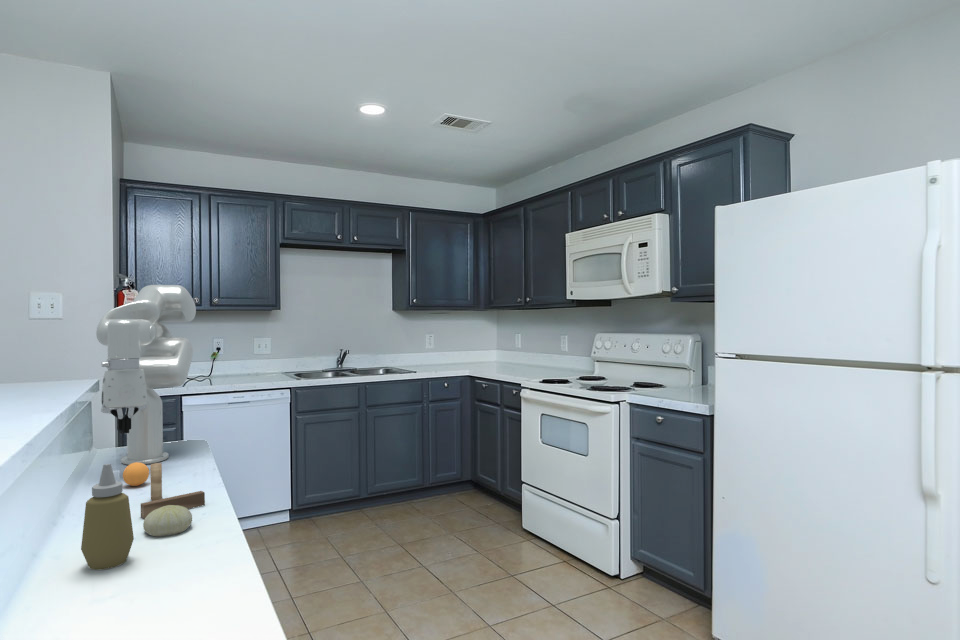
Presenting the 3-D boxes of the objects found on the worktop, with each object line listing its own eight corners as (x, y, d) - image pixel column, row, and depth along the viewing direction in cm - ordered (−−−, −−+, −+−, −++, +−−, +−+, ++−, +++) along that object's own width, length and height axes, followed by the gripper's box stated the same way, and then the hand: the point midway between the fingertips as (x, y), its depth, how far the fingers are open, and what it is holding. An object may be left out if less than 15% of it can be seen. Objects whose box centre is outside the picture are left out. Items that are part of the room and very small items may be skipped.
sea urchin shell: (203, 513, 129) (188, 495, 123) (189, 549, 123) (172, 532, 117) (164, 511, 129) (146, 493, 124) (147, 547, 124) (128, 530, 118)
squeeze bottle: (95, 577, 101) (94, 473, 101) (72, 567, 106) (71, 466, 105) (143, 560, 108) (142, 462, 108) (119, 551, 112) (118, 457, 112)
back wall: (140, 516, 131) (140, 503, 131) (201, 503, 140) (201, 490, 140) (143, 519, 130) (143, 505, 130) (204, 505, 139) (204, 492, 139)
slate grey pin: (108, 507, 138) (108, 470, 138) (120, 505, 139) (120, 469, 139) (107, 510, 136) (106, 473, 136) (119, 508, 137) (118, 472, 137)
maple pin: (151, 498, 144) (150, 463, 144) (162, 497, 145) (161, 462, 145) (150, 501, 142) (150, 466, 142) (161, 499, 143) (161, 464, 143)
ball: (124, 483, 156) (124, 461, 156) (150, 481, 159) (149, 458, 159) (121, 490, 151) (121, 466, 151) (148, 487, 153) (148, 464, 153)
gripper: (95, 367, 153) (95, 438, 153) (158, 364, 163) (158, 430, 163) (88, 366, 158) (88, 434, 158) (149, 363, 169) (150, 427, 169)
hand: (124, 432), depth 161 cm, fingers closed
